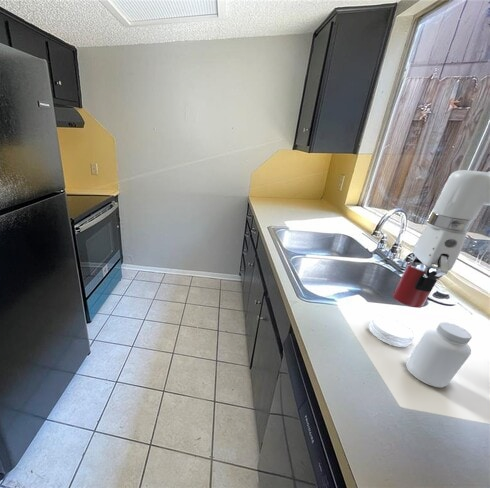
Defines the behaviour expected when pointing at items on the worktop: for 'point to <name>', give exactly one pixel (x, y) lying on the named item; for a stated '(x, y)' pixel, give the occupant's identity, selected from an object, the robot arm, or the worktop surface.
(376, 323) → the coaster
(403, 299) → the can
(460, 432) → the worktop surface
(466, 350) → the pill bottle
